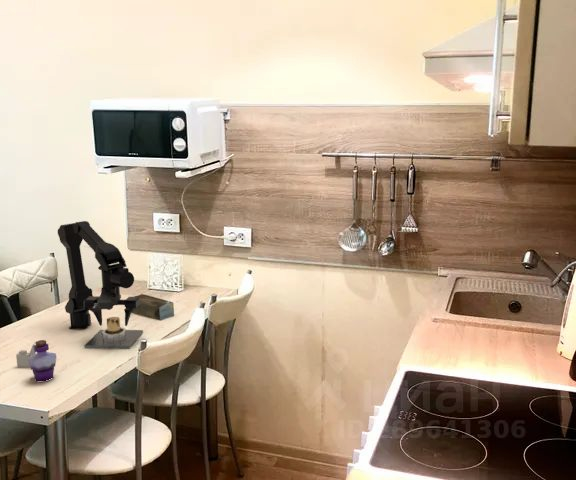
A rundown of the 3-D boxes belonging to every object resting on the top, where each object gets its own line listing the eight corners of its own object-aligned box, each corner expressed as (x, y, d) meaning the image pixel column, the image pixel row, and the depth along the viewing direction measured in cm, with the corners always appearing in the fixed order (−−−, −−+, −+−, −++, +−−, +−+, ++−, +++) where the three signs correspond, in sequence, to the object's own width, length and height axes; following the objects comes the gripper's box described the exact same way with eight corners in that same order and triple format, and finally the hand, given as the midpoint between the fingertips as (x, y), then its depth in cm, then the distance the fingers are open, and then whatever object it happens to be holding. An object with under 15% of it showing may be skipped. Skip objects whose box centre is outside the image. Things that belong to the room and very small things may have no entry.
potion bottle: (35, 372, 197) (31, 336, 194) (63, 372, 197) (59, 336, 194) (24, 384, 188) (20, 346, 186) (53, 384, 188) (50, 346, 186)
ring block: (84, 348, 217) (83, 338, 216) (100, 332, 232) (100, 323, 232) (129, 348, 216) (129, 339, 215) (143, 332, 231) (142, 323, 231)
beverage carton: (159, 321, 244) (158, 305, 243) (127, 312, 256) (126, 297, 254) (175, 316, 251) (174, 300, 249) (143, 307, 262) (142, 292, 260)
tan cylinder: (106, 339, 222) (104, 320, 220) (110, 335, 226) (109, 316, 225) (118, 339, 222) (117, 320, 220) (122, 335, 226) (121, 316, 225)
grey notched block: (17, 367, 201) (14, 343, 199) (19, 365, 203) (17, 341, 201) (39, 367, 201) (37, 343, 199) (41, 365, 203) (39, 341, 201)
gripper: (75, 289, 213) (79, 333, 216) (129, 289, 211) (132, 333, 215) (87, 280, 223) (91, 322, 227) (139, 281, 222) (141, 322, 225)
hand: (113, 325), depth 223 cm, fingers open, 9 cm apart
